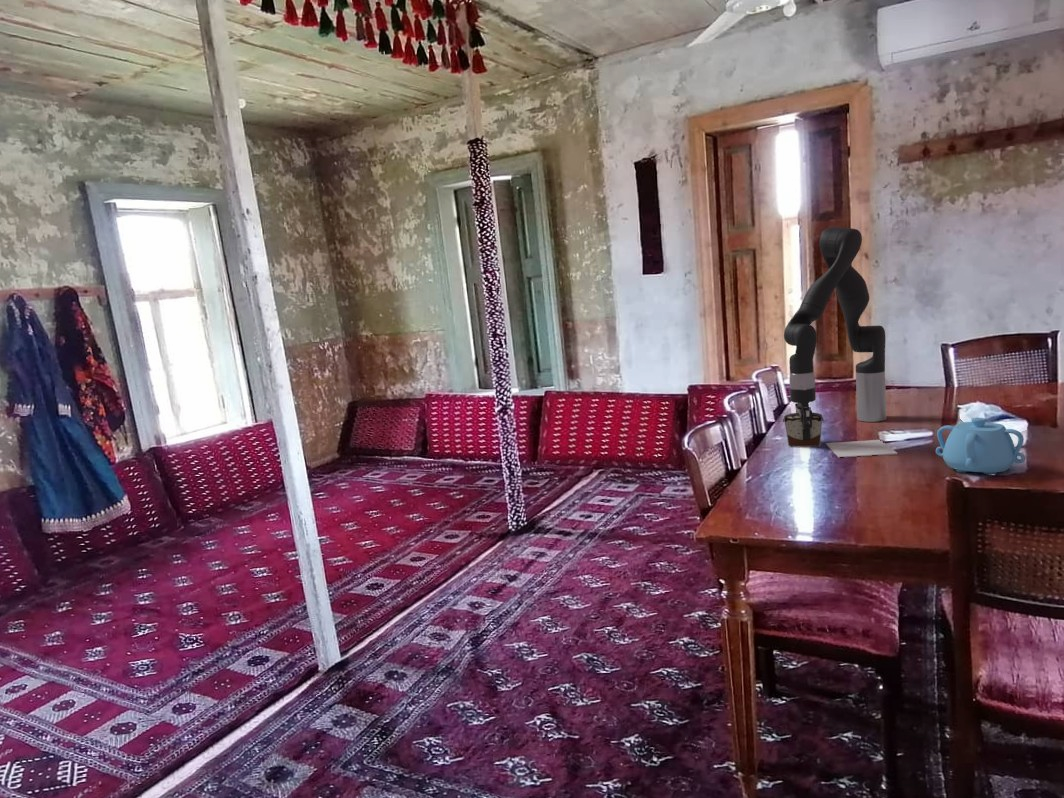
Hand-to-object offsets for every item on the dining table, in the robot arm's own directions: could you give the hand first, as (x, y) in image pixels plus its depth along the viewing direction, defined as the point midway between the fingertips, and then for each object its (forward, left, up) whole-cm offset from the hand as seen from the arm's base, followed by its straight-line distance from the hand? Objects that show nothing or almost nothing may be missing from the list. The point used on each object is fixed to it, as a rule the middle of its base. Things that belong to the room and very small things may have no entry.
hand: (804, 437), depth 218 cm
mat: (+9, +14, -2) cm, 17 cm away
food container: (-1, 0, -2) cm, 3 cm away
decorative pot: (+35, +36, -2) cm, 51 cm away
